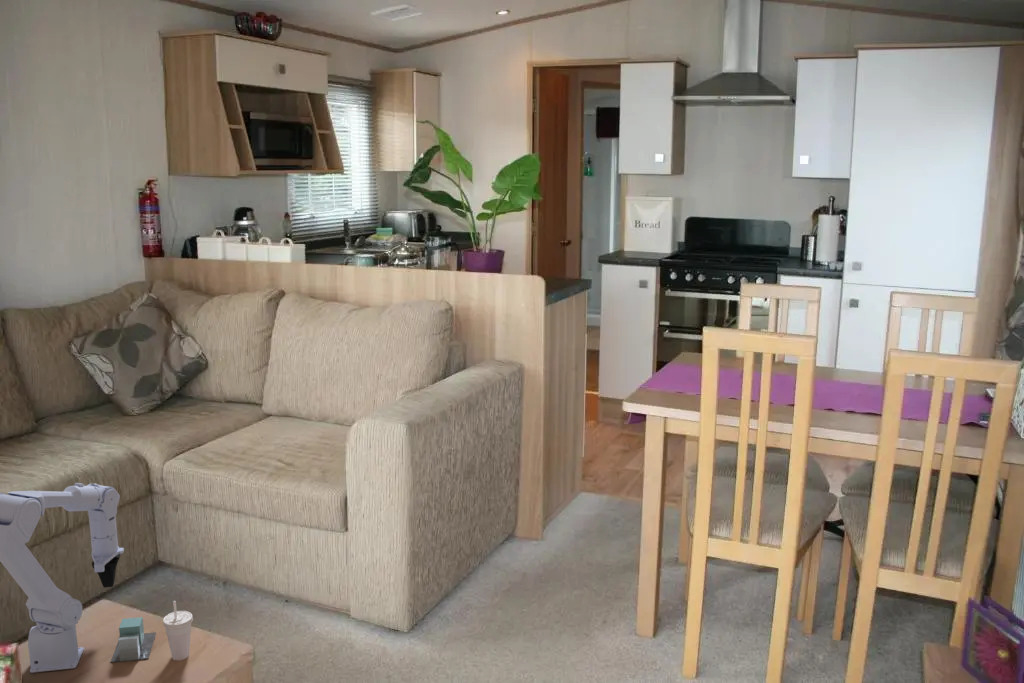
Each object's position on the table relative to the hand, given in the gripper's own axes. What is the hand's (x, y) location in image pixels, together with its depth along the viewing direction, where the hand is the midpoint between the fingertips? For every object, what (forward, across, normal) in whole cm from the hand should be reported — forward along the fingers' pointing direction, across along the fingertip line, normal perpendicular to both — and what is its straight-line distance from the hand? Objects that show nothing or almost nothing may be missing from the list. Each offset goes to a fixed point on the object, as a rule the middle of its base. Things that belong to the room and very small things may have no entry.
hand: (108, 586), depth 214 cm
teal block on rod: (+8, -12, -7) cm, 16 cm away
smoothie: (+11, -17, -18) cm, 27 cm away
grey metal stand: (+10, -12, -7) cm, 17 cm away
